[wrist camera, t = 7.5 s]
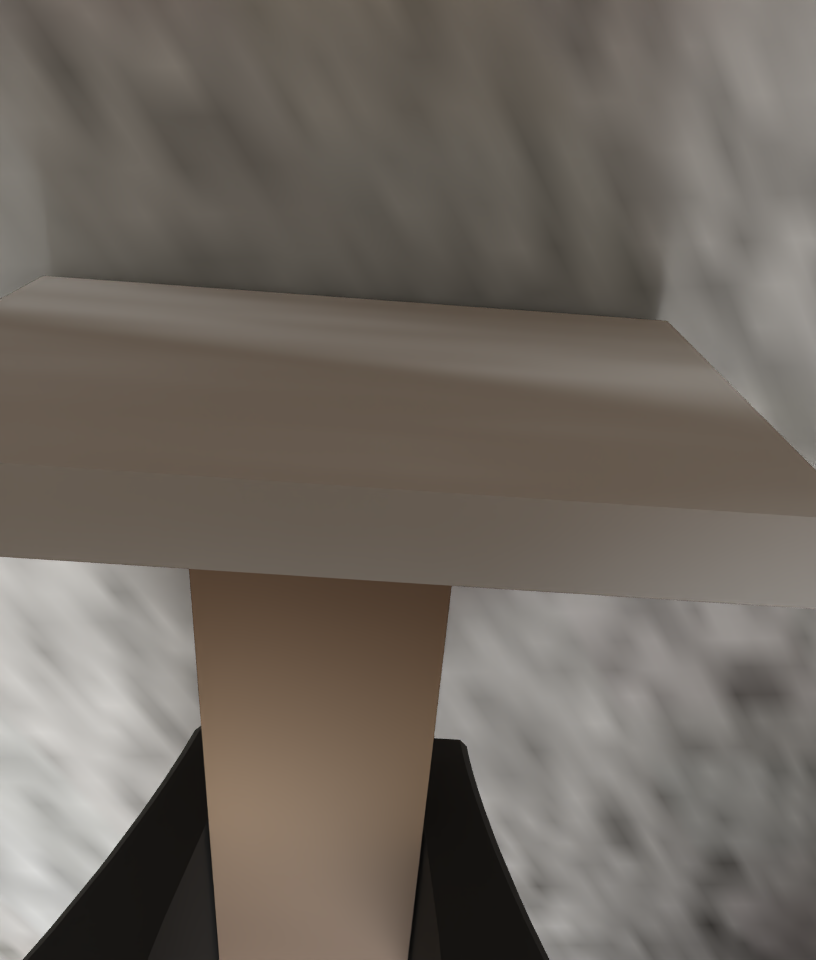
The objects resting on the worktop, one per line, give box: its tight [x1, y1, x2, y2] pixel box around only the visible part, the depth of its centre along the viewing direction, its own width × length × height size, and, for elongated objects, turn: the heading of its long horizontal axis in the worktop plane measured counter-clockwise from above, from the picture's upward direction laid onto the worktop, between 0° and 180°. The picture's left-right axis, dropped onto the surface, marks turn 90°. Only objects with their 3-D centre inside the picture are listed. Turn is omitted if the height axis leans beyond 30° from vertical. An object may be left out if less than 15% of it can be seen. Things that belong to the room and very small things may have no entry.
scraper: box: [0, 276, 816, 960], centre depth 11 cm, size 14×8×5 cm, turn 176°
